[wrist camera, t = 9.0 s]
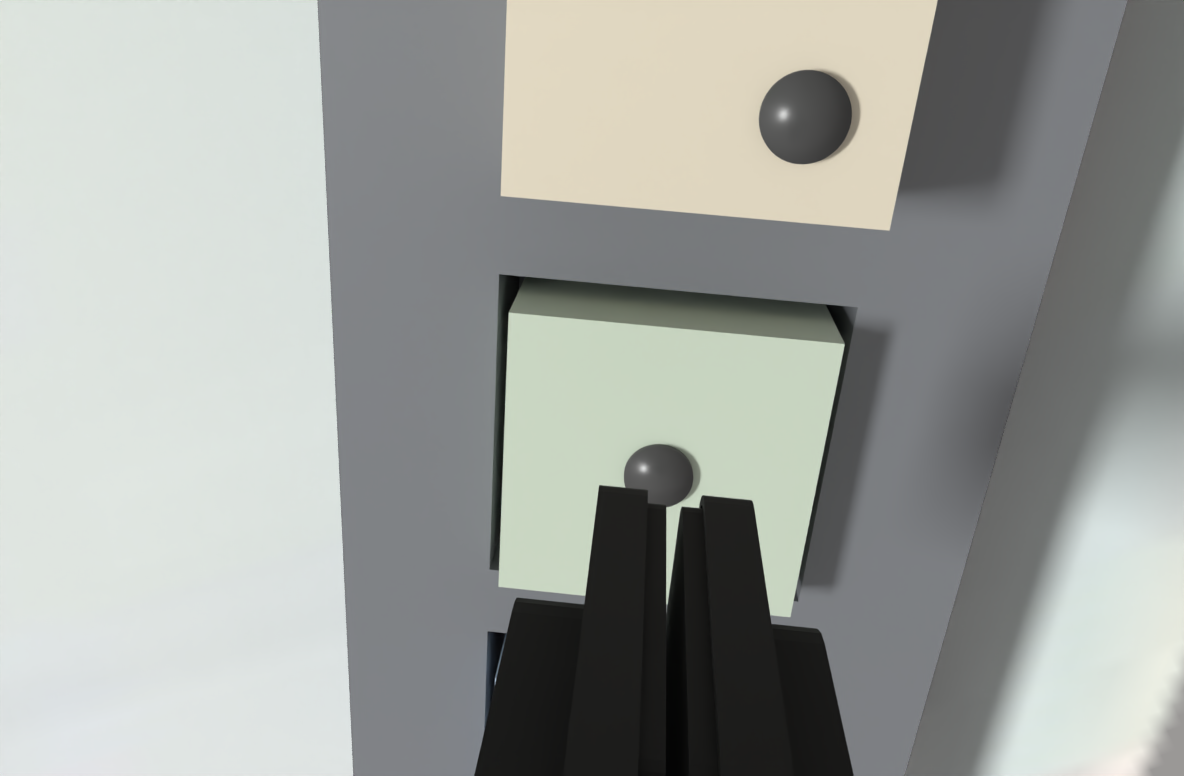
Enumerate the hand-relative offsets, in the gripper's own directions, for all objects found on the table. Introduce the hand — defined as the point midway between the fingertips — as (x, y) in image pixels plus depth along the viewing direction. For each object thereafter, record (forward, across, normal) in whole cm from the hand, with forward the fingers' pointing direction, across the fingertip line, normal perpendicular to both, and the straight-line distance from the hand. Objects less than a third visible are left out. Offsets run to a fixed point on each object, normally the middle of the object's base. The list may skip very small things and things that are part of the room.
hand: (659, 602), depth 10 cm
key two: (+7, 0, -6) cm, 9 cm away
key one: (+7, 0, +1) cm, 7 cm away
